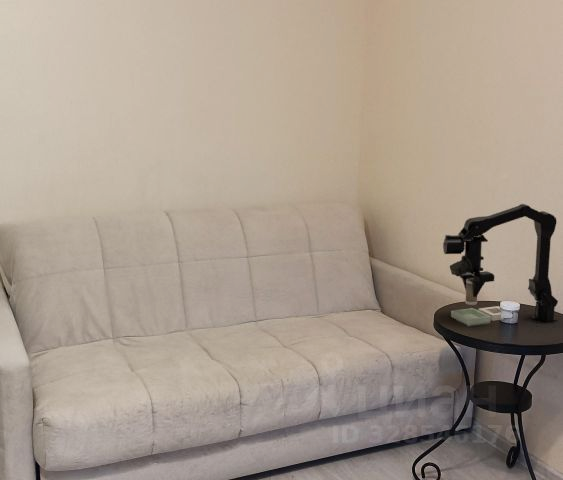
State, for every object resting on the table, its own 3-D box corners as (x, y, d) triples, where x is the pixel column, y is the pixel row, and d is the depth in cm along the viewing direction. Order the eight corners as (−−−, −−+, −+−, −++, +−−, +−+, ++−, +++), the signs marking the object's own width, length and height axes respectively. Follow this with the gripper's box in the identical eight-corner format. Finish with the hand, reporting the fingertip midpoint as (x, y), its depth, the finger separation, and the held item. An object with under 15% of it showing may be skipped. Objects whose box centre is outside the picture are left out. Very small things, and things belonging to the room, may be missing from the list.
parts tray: (490, 323, 247) (490, 316, 247) (468, 326, 244) (468, 319, 244) (472, 314, 258) (472, 308, 257) (451, 317, 255) (451, 310, 254)
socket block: (513, 317, 253) (513, 312, 252) (492, 320, 250) (492, 315, 250) (498, 311, 261) (498, 306, 261) (477, 313, 258) (478, 308, 258)
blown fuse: (479, 304, 248) (480, 280, 247) (469, 305, 247) (470, 281, 245) (472, 301, 252) (473, 277, 250) (463, 302, 251) (463, 278, 249)
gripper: (439, 250, 252) (438, 291, 255) (468, 261, 235) (467, 304, 238) (465, 247, 256) (464, 288, 259) (496, 258, 238) (494, 301, 241)
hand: (471, 295), depth 249 cm, fingers closed on blown fuse, 4 cm apart
